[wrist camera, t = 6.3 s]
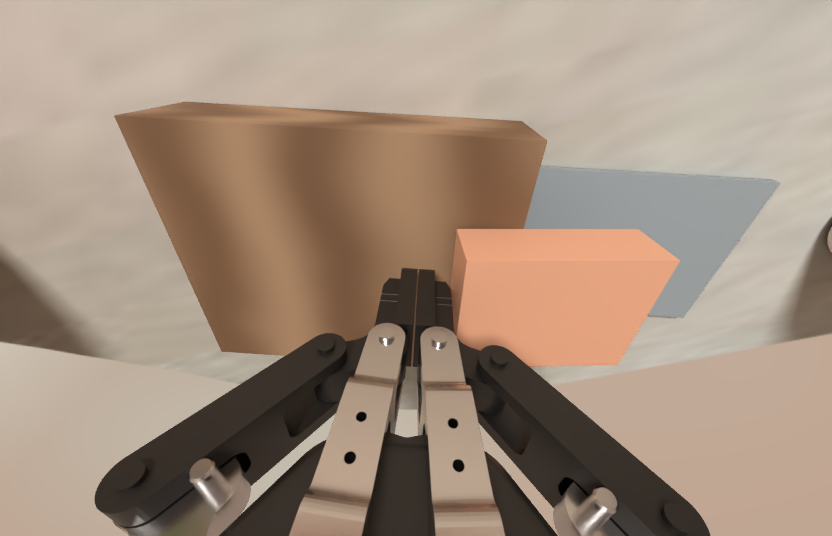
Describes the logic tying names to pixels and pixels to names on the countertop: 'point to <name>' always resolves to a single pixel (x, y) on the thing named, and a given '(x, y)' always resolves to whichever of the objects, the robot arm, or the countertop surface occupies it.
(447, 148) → the block
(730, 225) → the mat
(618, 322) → the salmon foam block
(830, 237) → the supplement bottle
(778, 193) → the countertop surface
